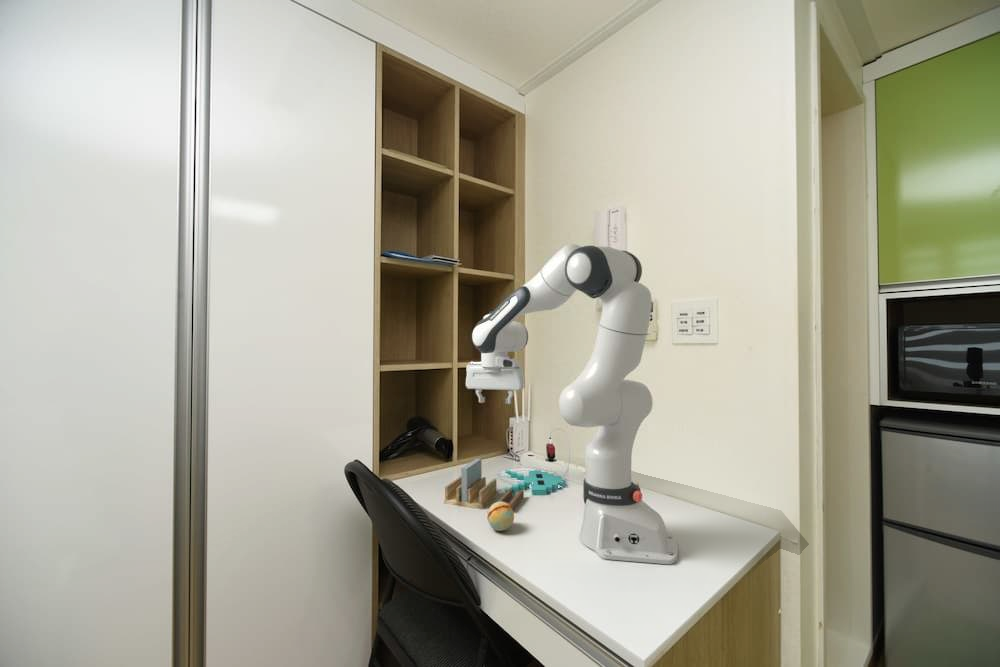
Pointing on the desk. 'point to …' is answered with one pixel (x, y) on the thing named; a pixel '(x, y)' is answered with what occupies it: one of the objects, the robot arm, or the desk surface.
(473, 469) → the plate
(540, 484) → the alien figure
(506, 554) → the desk surface
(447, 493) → the rack
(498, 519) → the ball
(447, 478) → the desk surface
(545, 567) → the desk surface
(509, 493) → the stand
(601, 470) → the robot arm
